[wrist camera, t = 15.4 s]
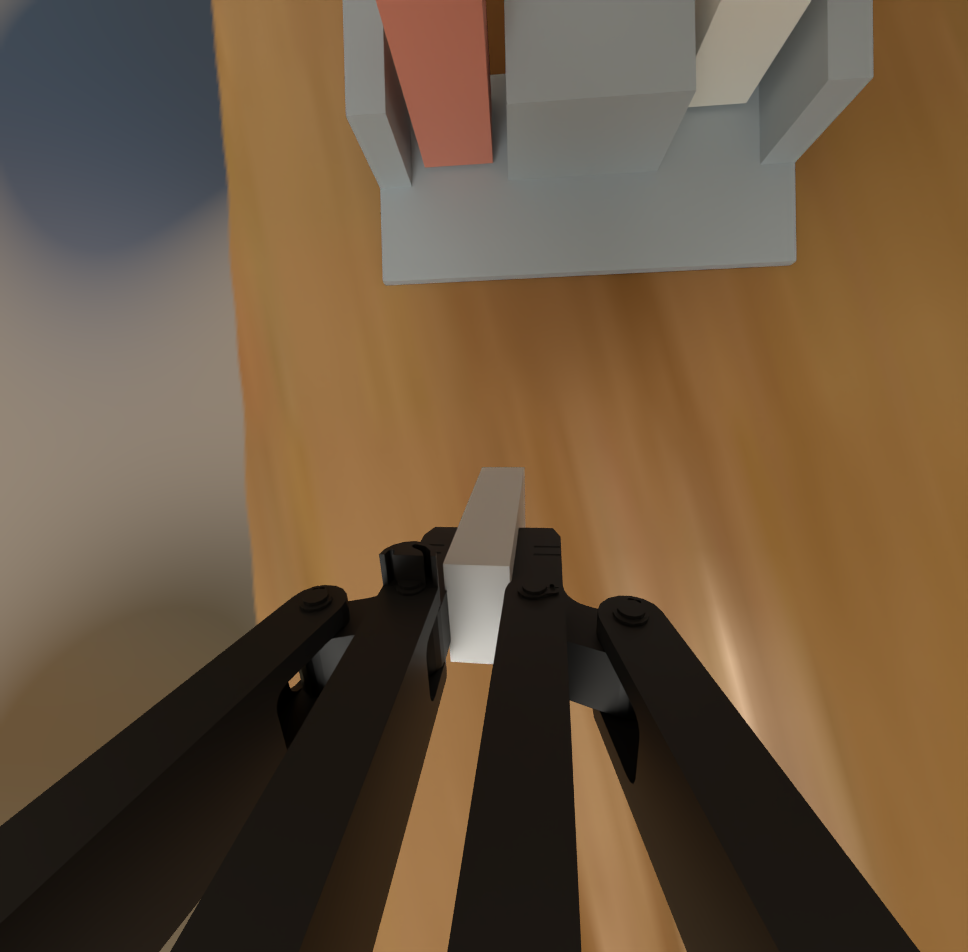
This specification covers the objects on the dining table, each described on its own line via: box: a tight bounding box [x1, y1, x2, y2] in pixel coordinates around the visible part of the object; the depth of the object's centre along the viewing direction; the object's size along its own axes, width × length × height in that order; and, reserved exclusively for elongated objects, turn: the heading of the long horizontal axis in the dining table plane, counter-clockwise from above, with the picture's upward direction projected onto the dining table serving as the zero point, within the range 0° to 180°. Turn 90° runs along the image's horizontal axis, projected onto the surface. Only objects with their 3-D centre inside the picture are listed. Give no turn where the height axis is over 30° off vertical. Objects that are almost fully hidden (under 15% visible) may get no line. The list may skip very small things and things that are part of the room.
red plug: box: [376, 0, 493, 168], centre depth 23 cm, size 4×4×11 cm
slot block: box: [343, 0, 873, 285], centre depth 26 cm, size 25×12×7 cm, turn 91°
